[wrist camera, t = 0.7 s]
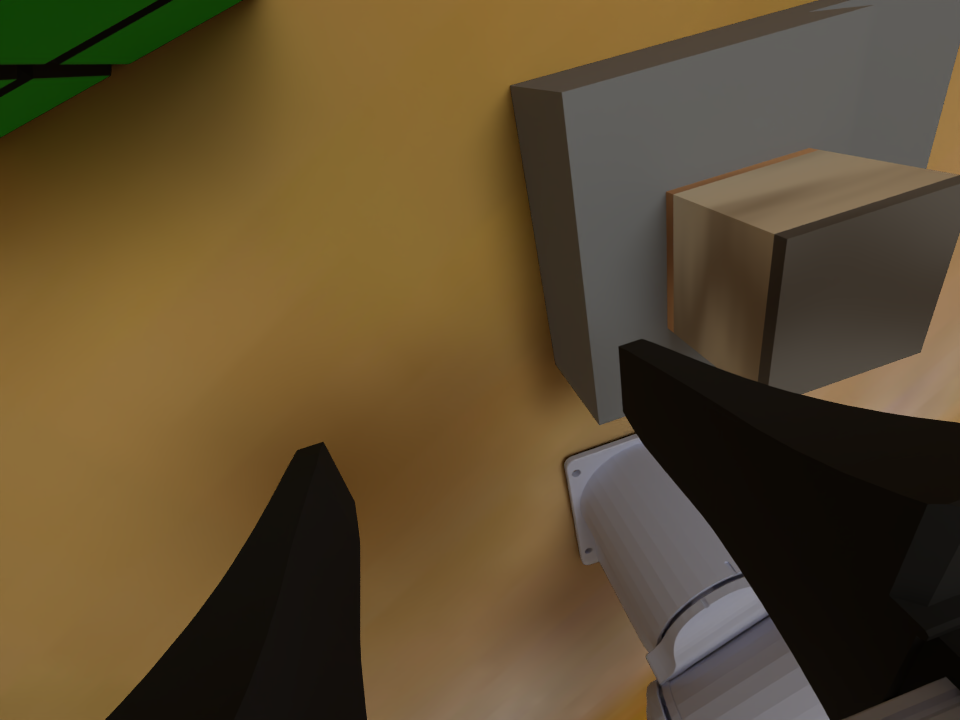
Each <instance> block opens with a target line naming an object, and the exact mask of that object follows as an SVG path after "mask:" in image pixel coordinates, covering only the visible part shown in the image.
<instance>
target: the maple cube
mask: <svg viewBox="0 0 960 720" xmlns="http://www.w3.org/2000/svg"><path fill="white" fill-rule="evenodd" d="M666 230H667V325H668V329H669V330H671V331H672V332H673V333H674V334H676V335H677V336H678V337H679V338H681V339H682V340H683V341H684V342H686V343H687V344H688V345H689V346H691V347H692V348H693V349H694V350H696V351H697V352H698V353H699V354H701V355H702V356H703V357H704V358H706V359H707V360H708V361H709V362H710V363H712V364H713V365H714V366H715V367H717V368H719V369H722V370H725V371H727V372H730V373H733V374H736V375H739V376H742V377H744V378H748V379H751V380H754V381H757V382H760V383H763V384H766V385H769V386H772V387H776V388H779V389H782V390H786V391H789V392H793V393H797V394H804V393H806V392H809V391H812V390H815V389H818V388H821V387H823V386H826V385H829V384H832V383H835V382H838V381H841V380H843V379H846V378H849V377H852V376H855V375H858V374H860V373H863V372H866V371H869V370H872V369H875V368H878V367H880V366H883V365H886V364H889V363H892V362H895V361H897V360H900V359H903V358H906V357H909V356H912V355H914V354H917V353H920V352H921V349H922V346H923V343H924V340H925V337H926V334H927V331H928V328H929V325H930V322H931V319H932V316H933V313H934V310H935V307H936V304H937V300H938V297H939V294H940V291H941V288H942V285H943V282H944V279H945V276H946V273H947V270H948V267H949V264H950V261H951V258H952V255H953V252H954V248H955V245H956V242H957V239H958V236H959V233H960V175H957V174H952V173H946V172H941V171H935V170H929V169H924V168H918V167H913V166H907V165H902V164H896V163H890V162H885V161H879V160H874V159H868V158H863V157H857V156H852V155H846V154H840V153H835V152H829V151H824V150H818V149H813V148H808V149H804V150H801V151H798V152H795V153H791V154H788V155H785V156H781V157H778V158H775V159H772V160H768V161H765V162H762V163H758V164H755V165H752V166H749V167H745V168H742V169H739V170H735V171H732V172H729V173H726V174H722V175H719V176H716V177H713V178H709V179H706V180H703V181H699V182H696V183H693V184H690V185H686V186H683V187H680V188H676V189H673V190H670V191H667V192H666Z"/></svg>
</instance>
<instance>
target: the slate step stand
mask: <svg viewBox="0 0 960 720" xmlns="http://www.w3.org/2000/svg"><path fill="white" fill-rule="evenodd" d="M959 44H960V0H818V1H815V2H811V3H807V4H804V5H800V6H797V7H793V8H789V9H786V10H782V11H778V12H775V13H771V14H768V15H764V16H760V17H757V18H753V19H749V20H746V21H742V22H739V23H735V24H731V25H728V26H724V27H721V28H717V29H713V30H710V31H706V32H702V33H699V34H695V35H692V36H688V37H684V38H681V39H677V40H673V41H670V42H666V43H663V44H659V45H655V46H652V47H648V48H645V49H641V50H637V51H634V52H630V53H626V54H623V55H619V56H616V57H612V58H608V59H605V60H601V61H597V62H594V63H590V64H587V65H583V66H579V67H576V68H572V69H569V70H565V71H561V72H558V73H554V74H550V75H547V76H543V77H540V78H536V79H532V80H529V81H525V82H521V83H518V84H514V85H511V86H510V88H511V95H512V101H513V107H514V113H515V119H516V125H517V131H518V138H519V144H520V150H521V156H522V162H523V168H524V174H525V180H526V187H527V193H528V199H529V205H530V211H531V217H532V223H533V230H534V236H535V242H536V248H537V254H538V260H539V266H540V272H541V279H542V285H543V291H544V297H545V303H546V309H547V315H548V322H549V328H550V334H551V340H552V346H553V352H554V358H555V364H556V366H557V367H558V368H559V370H560V371H561V373H562V374H563V375H564V377H565V378H566V380H567V381H568V382H569V384H570V385H571V387H572V388H573V389H574V391H575V392H576V393H577V395H578V396H579V398H580V399H581V400H582V402H583V403H584V405H585V406H586V407H587V409H588V410H589V411H590V413H591V414H592V416H593V417H594V418H595V420H596V421H597V423H598V424H599V425H601V424H604V423H607V422H610V421H613V420H616V419H619V418H622V417H624V416H625V414H624V413H623V407H622V392H621V378H620V363H619V349H618V346H621V345H624V344H627V343H630V342H633V341H636V340H639V339H644V340H647V341H650V342H653V343H656V344H658V345H661V346H663V347H666V348H668V349H671V350H673V351H676V352H678V353H681V354H683V355H686V356H688V357H691V358H693V359H696V360H698V361H701V362H704V363H706V364H709V365H711V366H714V365H713V364H712V363H710V362H709V361H708V360H707V359H706V358H704V357H703V356H702V355H701V354H699V353H698V352H697V351H696V350H694V349H693V348H692V347H691V346H689V345H688V344H687V343H686V342H684V341H683V340H682V339H681V338H679V337H678V336H677V335H676V334H674V333H673V332H672V331H671V330H669V329H668V325H667V230H666V192H667V191H670V190H673V189H676V188H680V187H683V186H686V185H690V184H693V183H696V182H699V181H703V180H706V179H709V178H713V177H716V176H719V175H722V174H726V173H729V172H732V171H735V170H739V169H742V168H745V167H749V166H752V165H755V164H758V163H762V162H765V161H768V160H772V159H775V158H778V157H781V156H785V155H788V154H791V153H795V152H798V151H801V150H804V149H808V148H813V149H818V150H824V151H829V152H835V153H840V154H846V155H852V156H857V157H863V158H868V159H874V160H879V161H885V162H890V163H896V164H902V165H907V166H913V167H918V168H924V169H926V167H927V164H928V160H929V156H930V152H931V149H932V145H933V141H934V137H935V134H936V130H937V126H938V123H939V119H940V115H941V111H942V108H943V104H944V100H945V96H946V93H947V89H948V85H949V82H950V78H951V74H952V70H953V67H954V63H955V59H956V56H957V52H958V48H959ZM714 367H715V366H714Z"/></svg>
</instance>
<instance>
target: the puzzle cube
mask: <svg viewBox="0 0 960 720" xmlns="http://www.w3.org/2000/svg"><path fill="white" fill-rule="evenodd" d="M241 1H242V0H0V138H1V137H2V136H4V135H6V134H8V133H10V132H11V131H13V130H15V129H17V128H18V127H20V126H22V125H24V124H26V123H27V122H29V121H31V120H33V119H34V118H36V117H38V116H40V115H41V114H43V113H45V112H47V111H49V110H50V109H52V108H54V107H56V106H57V105H59V104H61V103H63V102H65V101H66V100H68V99H70V98H72V97H73V96H75V95H77V94H79V93H81V92H82V91H84V90H86V89H88V88H89V87H91V86H93V85H95V84H97V83H98V82H100V81H102V80H104V79H105V78H107V77H109V76H111V64H130V63H132V62H134V61H136V60H138V59H139V58H141V57H143V56H145V55H146V54H148V53H150V52H152V51H154V50H155V49H157V48H159V47H161V46H162V45H164V44H166V43H168V42H170V41H171V40H173V39H175V38H177V37H178V36H180V35H182V34H184V33H185V32H187V31H189V30H191V29H193V28H194V27H196V26H198V25H200V24H201V23H203V22H205V21H207V20H209V19H210V18H212V17H214V16H216V15H217V14H219V13H221V12H223V11H225V10H226V9H228V8H230V7H232V6H233V5H235V4H237V3H239V2H241Z"/></svg>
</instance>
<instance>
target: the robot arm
mask: <svg viewBox="0 0 960 720" xmlns="http://www.w3.org/2000/svg"><path fill="white" fill-rule="evenodd" d="M618 349H619V363H620V378H621V392H622V407H623V413H624V414H625V416H626V418H627V419H628V421H629V423H630V424H631V426H632V428H633V429H634V431H635V432H636V434H634V435H631V436H628V437H625V438H623V439H620V440H617V441H614V442H611V443H608V444H605V445H602V446H600V447H597V448H594V449H591V450H588V451H585V452H582V453H579V454H577V455H574V456H571V457H569V458H568V459H567V460H566V461H565V463H564V467H565V473H566V478H567V484H568V490H569V496H570V501H571V507H572V513H573V518H574V524H575V530H576V536H577V541H578V547H579V553H580V558H581V560H582V562H583V564H584V565H591V564H593V563H596V562H600V564H601V566H602V568H603V570H604V572H605V574H606V576H607V578H608V579H609V581H610V583H611V585H612V587H613V589H614V591H615V593H616V595H617V597H618V599H619V600H620V602H621V604H622V606H623V608H624V610H625V612H626V614H627V616H628V618H629V620H630V622H631V623H632V625H633V627H634V629H635V631H636V633H637V635H638V637H639V639H640V641H641V642H642V644H643V645H644V647H645V648H646V650H647V651H648V652H649V653H648V654H647V655H646V659H647V661H648V663H649V665H650V667H651V669H652V671H653V673H654V675H655V677H656V680H655V681H653V682H651V683H650V684H649V686H648V687H647V694H646V697H647V710H646V713H647V720H960V423H956V422H949V421H941V420H933V419H925V418H917V417H910V416H904V415H897V414H891V413H885V412H879V411H874V410H869V409H863V408H858V407H853V406H847V405H843V404H838V403H834V402H829V401H825V400H821V399H817V398H813V397H809V396H805V395H801V394H797V393H793V392H789V391H786V390H782V389H779V388H776V387H772V386H769V385H766V384H763V383H760V382H757V381H754V380H751V379H748V378H744V377H742V376H739V375H736V374H733V373H730V372H727V371H725V370H722V369H719V368H717V367H714V366H711V365H709V364H706V363H704V362H701V361H698V360H696V359H693V358H691V357H688V356H686V355H683V354H681V353H678V352H676V351H673V350H671V349H668V348H666V347H663V346H661V345H658V344H656V343H653V342H650V341H647V340H644V339H639V340H636V341H633V342H630V343H627V344H624V345H621V346H618ZM575 470H576V471H575ZM573 471H575V472H573ZM105 720H367V715H366V707H365V696H364V686H363V676H362V666H361V648H360V538H359V529H358V521H357V514H356V507H355V501H354V499H353V498H352V496H351V494H350V492H349V490H348V488H347V486H346V484H345V482H344V480H343V478H342V476H341V475H340V473H339V471H338V469H337V467H336V465H335V463H334V461H333V459H332V457H331V455H330V453H329V452H328V450H327V448H326V446H325V444H324V442H321V443H318V444H315V445H312V446H309V447H306V448H303V449H300V450H297V451H296V453H295V455H294V457H293V459H292V460H291V462H290V464H289V466H288V468H287V469H286V471H285V473H284V475H283V477H282V479H281V481H280V483H279V485H278V486H277V488H276V490H275V492H274V494H273V496H272V498H271V499H270V501H269V503H268V505H267V507H266V508H265V510H264V512H263V514H262V516H261V517H260V519H259V521H258V523H257V524H256V526H255V528H254V530H253V531H252V533H251V535H250V536H249V538H248V539H247V541H246V543H245V544H244V546H243V547H242V549H241V551H240V552H239V554H238V556H237V557H236V559H235V560H234V562H233V564H232V565H231V567H230V568H229V570H228V571H227V573H226V574H225V576H224V577H223V579H222V580H221V581H220V583H219V584H218V586H217V587H216V589H215V590H214V591H213V593H212V594H211V595H210V597H209V598H208V599H207V601H206V602H205V604H204V605H203V606H202V608H201V609H200V610H199V612H198V613H197V614H196V616H195V617H194V618H193V619H192V621H191V622H190V623H189V625H188V626H187V627H186V628H185V629H184V631H183V632H182V633H181V634H180V635H179V637H178V638H177V639H176V640H175V641H174V643H173V644H172V645H171V646H170V647H169V649H168V650H167V651H166V652H165V653H164V655H163V656H162V657H161V658H160V659H159V661H158V662H157V663H156V664H155V666H154V667H153V668H152V669H151V670H150V671H149V673H148V674H147V675H146V676H145V677H144V678H143V679H142V680H141V682H140V683H139V684H138V685H137V686H136V687H135V688H134V689H133V690H132V691H131V693H130V694H129V695H128V696H127V697H126V698H125V699H124V700H123V701H122V702H121V704H120V705H119V706H118V707H117V708H116V709H115V710H114V711H113V712H112V713H111V714H110V715H109V716H108V717H107V718H106V719H105Z"/></svg>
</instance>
